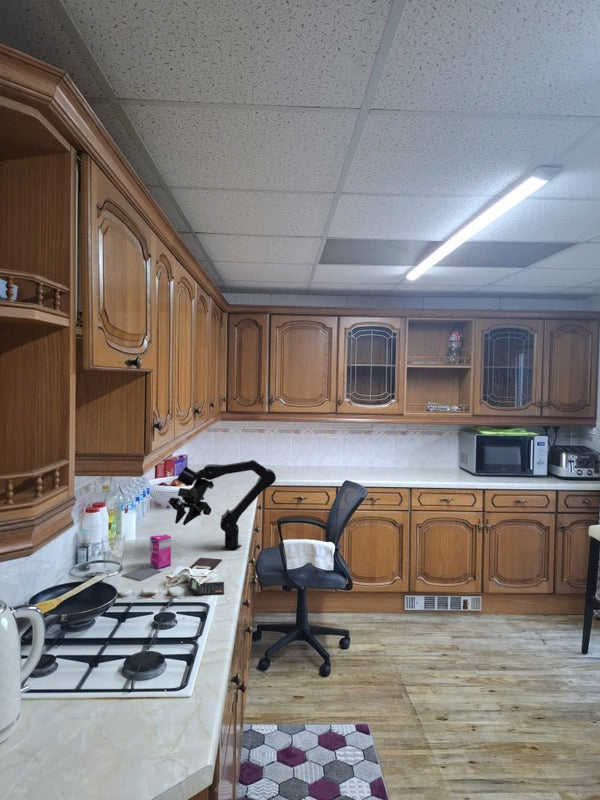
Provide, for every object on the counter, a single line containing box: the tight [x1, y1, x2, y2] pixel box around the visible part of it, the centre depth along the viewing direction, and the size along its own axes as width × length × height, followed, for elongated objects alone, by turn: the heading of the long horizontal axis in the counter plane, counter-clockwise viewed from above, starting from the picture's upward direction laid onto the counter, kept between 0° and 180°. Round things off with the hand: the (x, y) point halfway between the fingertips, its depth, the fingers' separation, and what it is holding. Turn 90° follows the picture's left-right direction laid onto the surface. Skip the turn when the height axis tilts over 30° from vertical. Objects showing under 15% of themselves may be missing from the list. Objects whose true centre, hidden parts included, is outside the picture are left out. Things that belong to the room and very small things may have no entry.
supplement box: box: [149, 532, 172, 570], centre depth 184 cm, size 6×6×12 cm
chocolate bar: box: [189, 557, 223, 571], centre depth 183 cm, size 9×1×18 cm
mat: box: [121, 566, 162, 582], centre depth 176 cm, size 10×9×1 cm
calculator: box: [187, 576, 225, 597], centre depth 163 cm, size 9×12×3 cm
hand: (179, 523), depth 194 cm, fingers open, 4 cm apart
